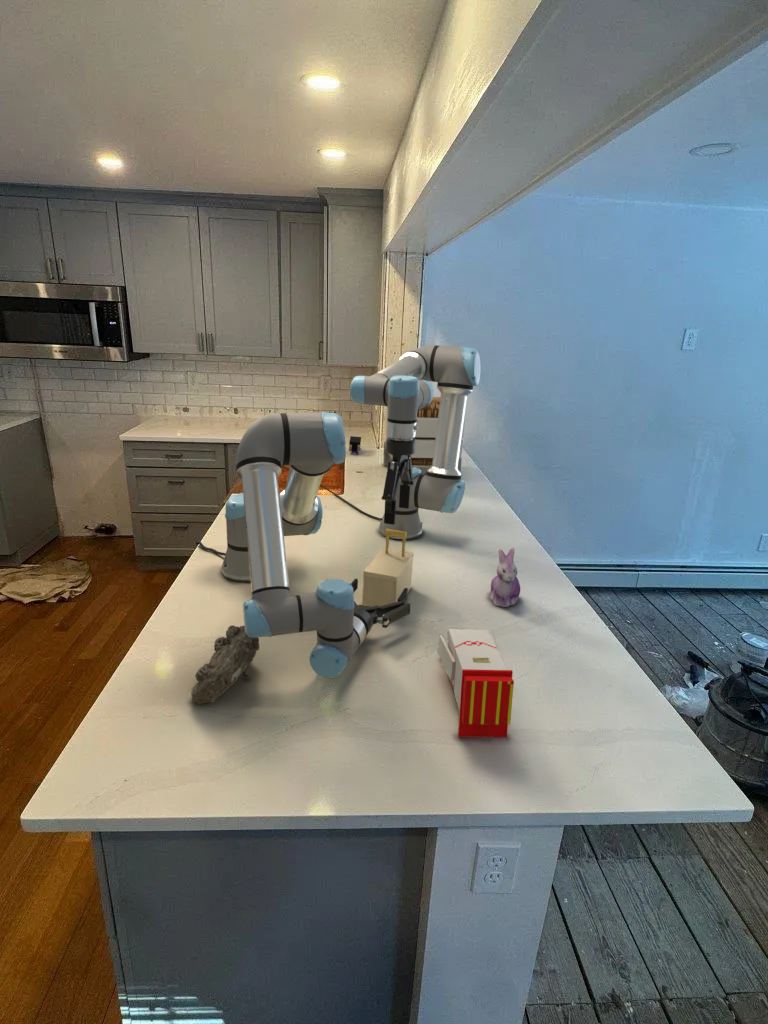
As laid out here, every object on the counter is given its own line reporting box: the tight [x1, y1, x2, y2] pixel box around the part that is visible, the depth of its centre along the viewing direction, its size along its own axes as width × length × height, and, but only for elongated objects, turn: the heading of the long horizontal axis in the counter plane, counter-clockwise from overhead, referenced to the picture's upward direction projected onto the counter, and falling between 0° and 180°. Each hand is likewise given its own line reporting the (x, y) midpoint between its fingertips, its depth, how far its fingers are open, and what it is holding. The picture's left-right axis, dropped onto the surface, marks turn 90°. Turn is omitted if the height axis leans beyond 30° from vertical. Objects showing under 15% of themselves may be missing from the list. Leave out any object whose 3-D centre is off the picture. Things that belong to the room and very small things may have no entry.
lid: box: [363, 529, 415, 581], centre depth 152 cm, size 17×9×8 cm, turn 162°
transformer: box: [383, 396, 465, 474], centre depth 268 cm, size 34×33×41 cm
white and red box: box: [437, 628, 515, 738], centre depth 117 cm, size 12×13×30 cm
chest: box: [362, 557, 414, 607], centre depth 154 cm, size 16×9×9 cm, turn 162°
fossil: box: [191, 624, 260, 705], centre depth 119 cm, size 22×10×15 cm
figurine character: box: [348, 435, 362, 455], centre depth 308 cm, size 7×8×15 cm
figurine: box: [489, 547, 521, 608], centre depth 154 cm, size 9×10×15 cm
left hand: (381, 587), depth 148 cm, fingers open, 13 cm apart
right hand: (396, 515), depth 153 cm, fingers open, 13 cm apart
